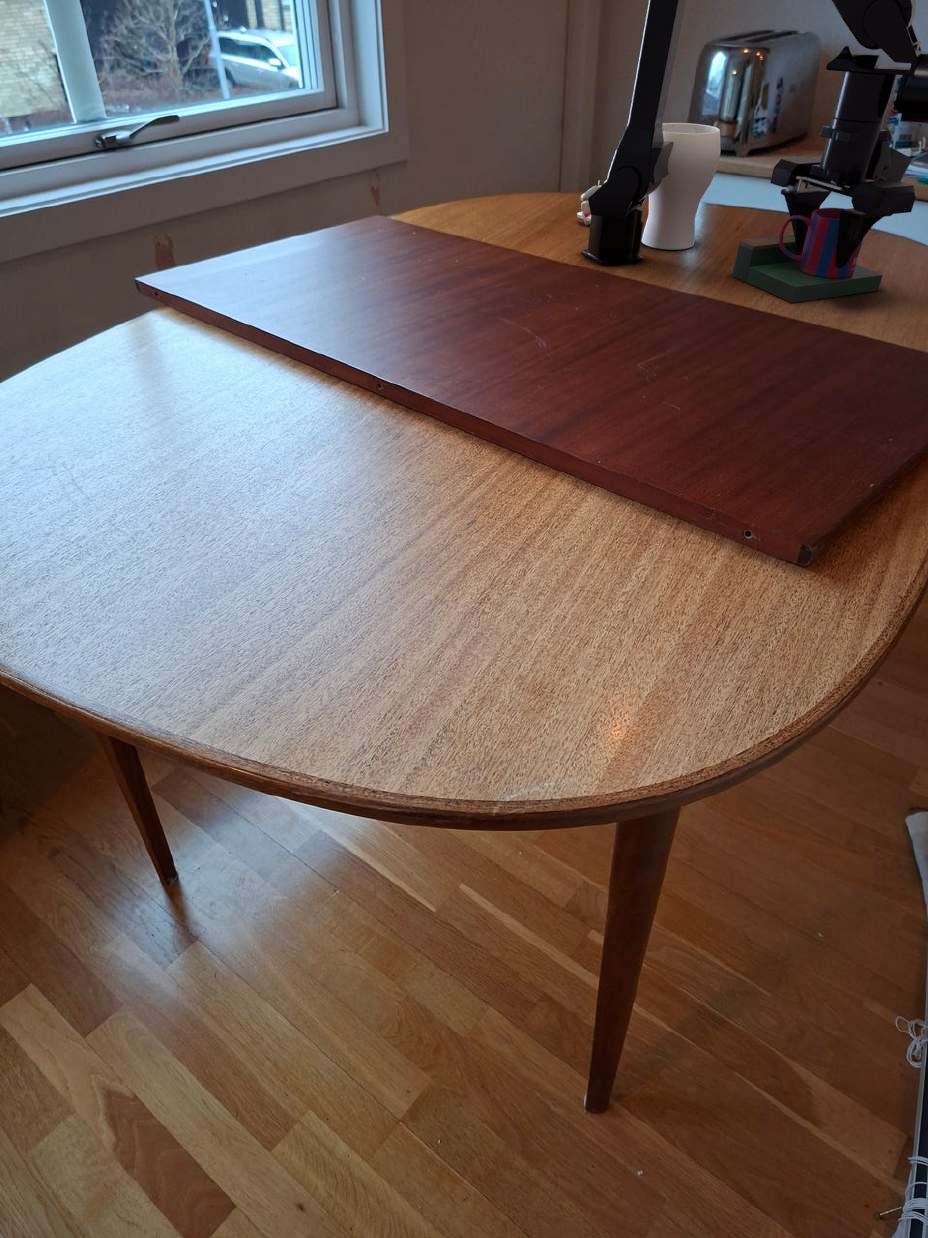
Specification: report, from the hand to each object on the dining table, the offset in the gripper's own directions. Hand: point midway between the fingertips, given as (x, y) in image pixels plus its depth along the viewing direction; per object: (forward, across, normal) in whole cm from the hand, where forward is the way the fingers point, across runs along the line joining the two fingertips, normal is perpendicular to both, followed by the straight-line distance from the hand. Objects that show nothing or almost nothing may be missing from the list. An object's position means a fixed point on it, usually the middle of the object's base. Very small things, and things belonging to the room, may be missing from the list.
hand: (820, 259), depth 108 cm
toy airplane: (+4, +39, +9) cm, 40 cm away
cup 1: (+4, +25, +6) cm, 26 cm away
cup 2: (+2, +1, 0) cm, 2 cm away
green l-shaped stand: (+4, +2, 0) cm, 4 cm away
